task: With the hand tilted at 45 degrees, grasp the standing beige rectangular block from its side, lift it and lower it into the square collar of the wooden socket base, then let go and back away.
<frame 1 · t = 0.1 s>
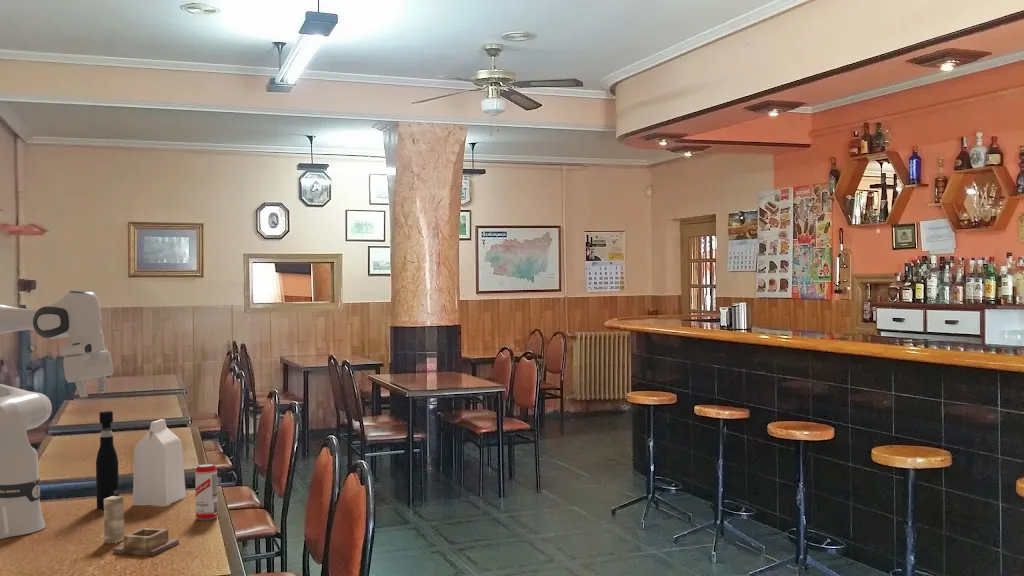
hand: (92, 395, 258), 39 cm above the table, tool pointing down, fingers open, 8 cm apart
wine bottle: (108, 507, 285), on the table
milk: (159, 501, 292), on the table
wooden socket base: (146, 548, 241), on the table
beige rectangular block: (114, 541, 248), on the table
beer can: (207, 518, 271), on the table
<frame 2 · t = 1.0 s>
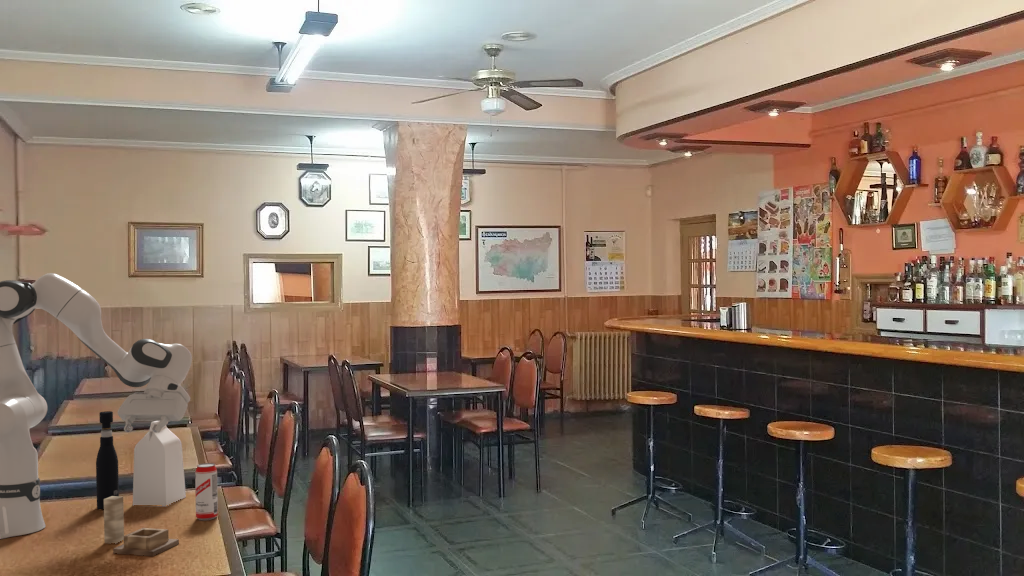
hand: (141, 431, 259), 28 cm above the table, tool tilted 45°, fingers open, 8 cm apart
nothing on the table moved.
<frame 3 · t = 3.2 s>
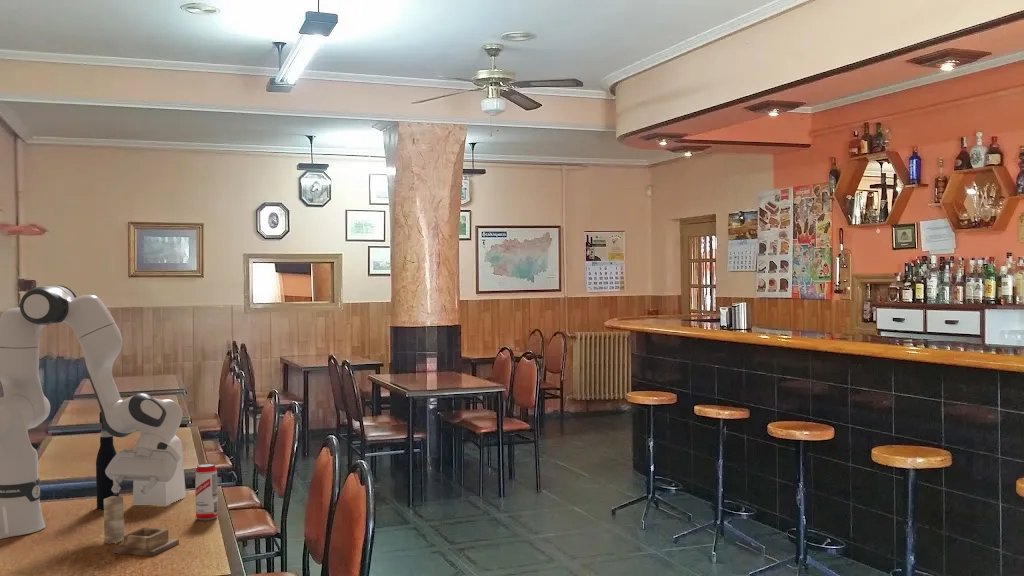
hand: (129, 492, 254), 12 cm above the table, tool tilted 45°, fingers open, 8 cm apart
nothing on the table moved.
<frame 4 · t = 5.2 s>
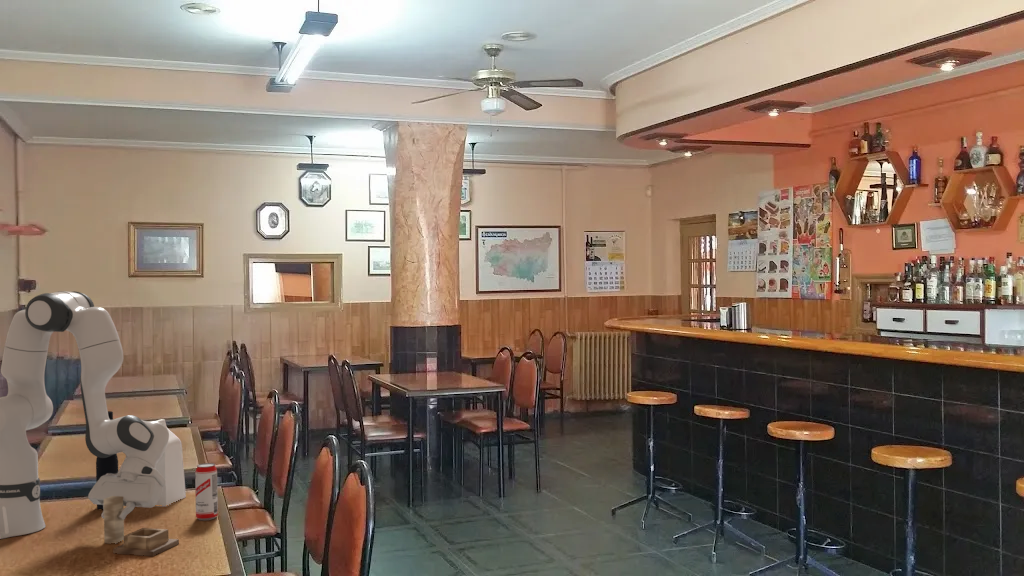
hand: (112, 518, 247), 7 cm above the table, tool tilted 45°, fingers closed on beige rectangular block, 3 cm apart
beige rectangular block: (114, 541, 248), on the table, touching gripper
everything else where it was.
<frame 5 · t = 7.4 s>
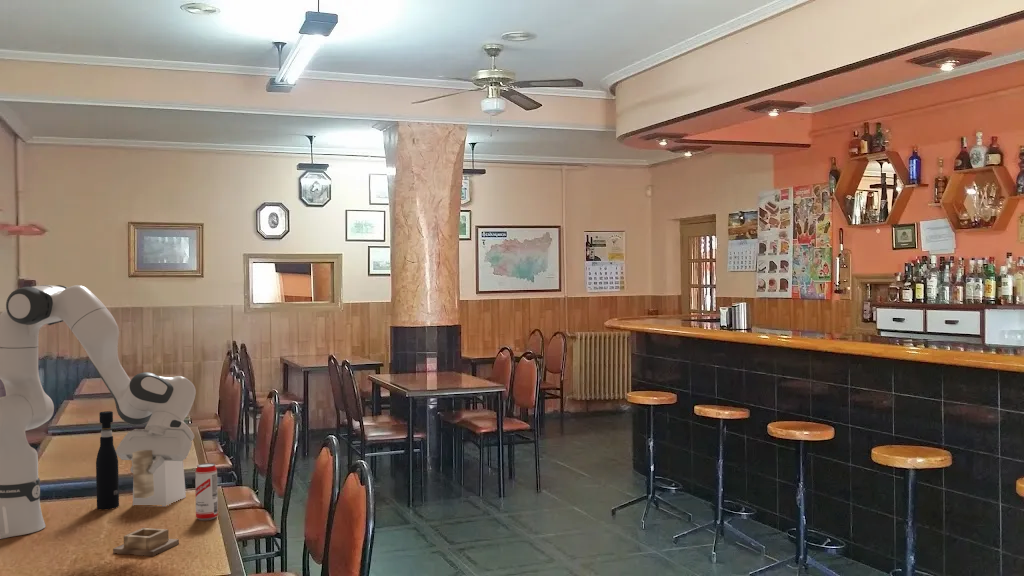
hand: (141, 472, 241), 20 cm above the table, tool tilted 45°, fingers closed on beige rectangular block, 3 cm apart
beige rectangular block: (144, 496, 242), point 14 cm above the table, touching gripper
everything else where it was.
when the fingers open (9 cm above the table, at t = 9.8 s): beige rectangular block drops 1 cm, resting on wooden socket base.
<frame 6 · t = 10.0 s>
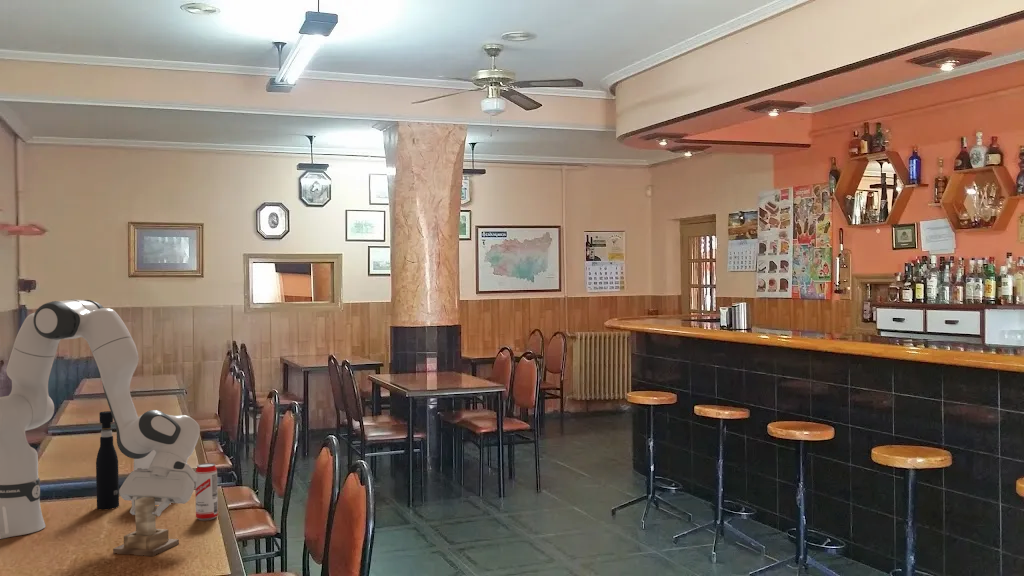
hand: (144, 514, 240), 9 cm above the table, tool tilted 45°, fingers open, 5 cm apart
beige rectangular block: (146, 543, 241), point 1 cm above the table, touching wooden socket base
everything else where it was.
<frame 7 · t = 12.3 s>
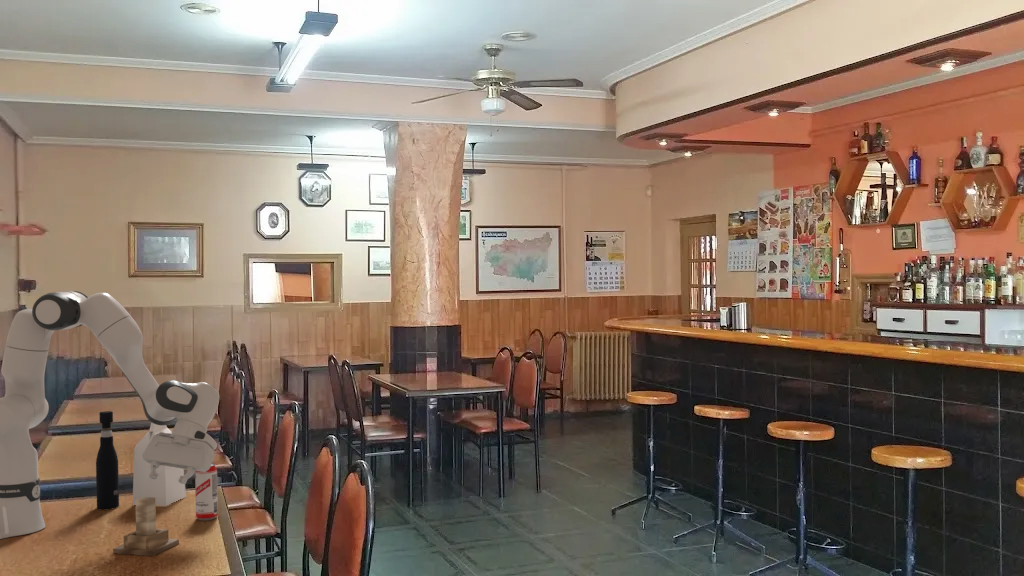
hand: (166, 480, 253), 15 cm above the table, tool tilted 35°, fingers open, 8 cm apart
nothing on the table moved.
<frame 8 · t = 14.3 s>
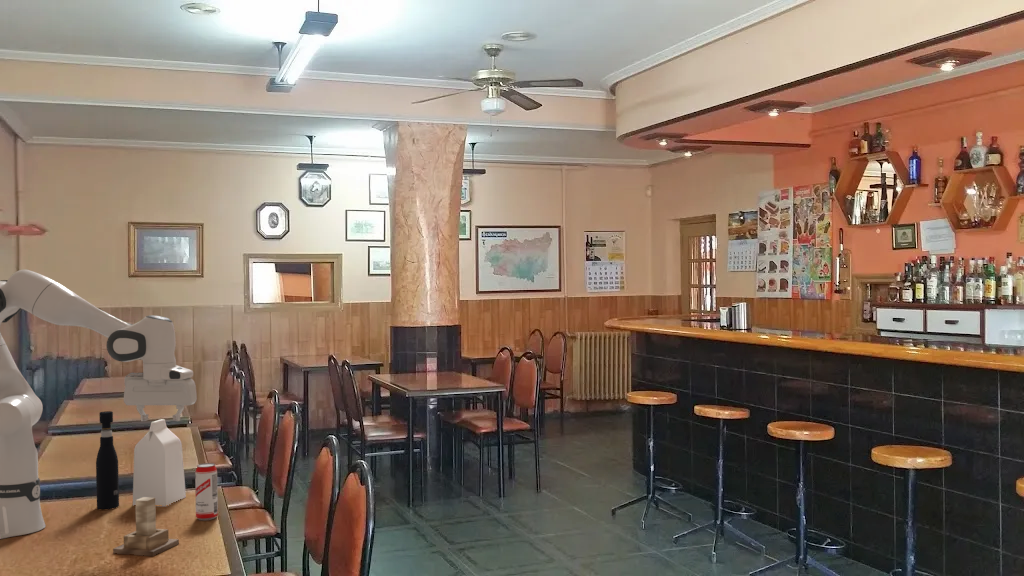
hand: (160, 420, 259), 31 cm above the table, tool pointing down, fingers open, 8 cm apart
nothing on the table moved.
at the end: beige rectangular block 0.1 cm off-centre on the wooden socket base, point 1.2 cm above the wooden socket base's base; beige rectangular block tilted 0°; the gripper is holding nothing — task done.
